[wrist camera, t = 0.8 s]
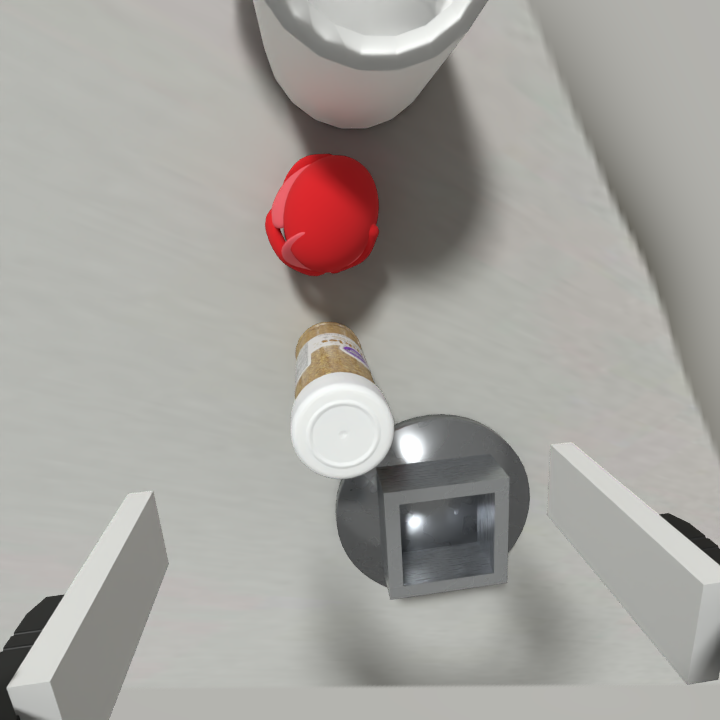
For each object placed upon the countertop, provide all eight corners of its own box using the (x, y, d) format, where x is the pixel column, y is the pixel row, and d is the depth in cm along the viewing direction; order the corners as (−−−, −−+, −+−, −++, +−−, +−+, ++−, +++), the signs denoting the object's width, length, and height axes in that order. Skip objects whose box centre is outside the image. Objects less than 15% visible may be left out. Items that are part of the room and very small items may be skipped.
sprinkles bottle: (370, 334, 34) (413, 406, 21) (345, 392, 35) (372, 495, 22) (308, 310, 33) (313, 369, 20) (284, 370, 34) (274, 465, 21)
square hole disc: (343, 596, 40) (348, 642, 35) (327, 426, 35) (330, 455, 31) (521, 570, 41) (547, 612, 37) (526, 404, 37) (556, 428, 32)
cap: (324, 314, 30) (401, 266, 26) (244, 256, 26) (322, 193, 23) (335, 230, 34) (401, 181, 31) (269, 172, 31) (335, 109, 28)
